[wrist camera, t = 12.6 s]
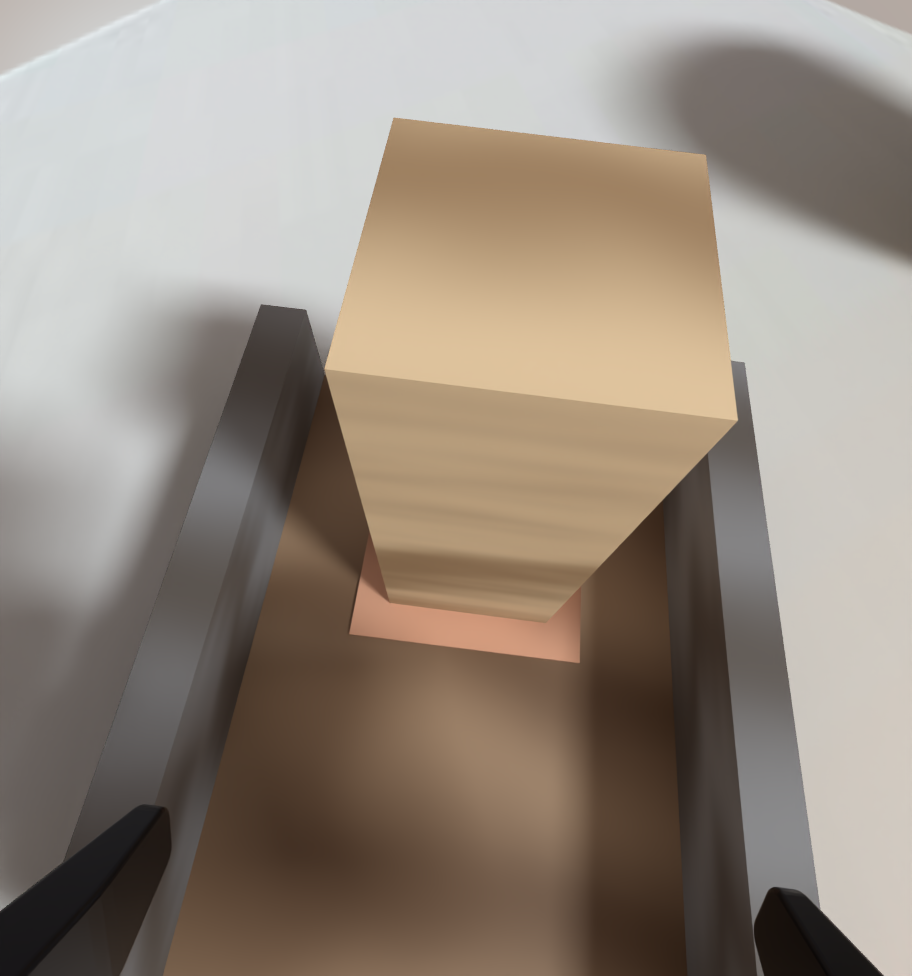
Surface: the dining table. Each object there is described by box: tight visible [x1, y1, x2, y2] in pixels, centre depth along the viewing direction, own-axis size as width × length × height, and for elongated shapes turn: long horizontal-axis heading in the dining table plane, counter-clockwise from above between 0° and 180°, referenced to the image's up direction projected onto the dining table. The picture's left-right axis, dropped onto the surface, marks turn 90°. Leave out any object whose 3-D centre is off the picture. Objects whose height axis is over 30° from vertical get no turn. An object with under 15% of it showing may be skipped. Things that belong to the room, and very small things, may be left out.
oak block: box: [324, 118, 738, 623], centre depth 13 cm, size 5×5×12 cm
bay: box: [63, 304, 820, 976], centre depth 16 cm, size 19×16×4 cm
